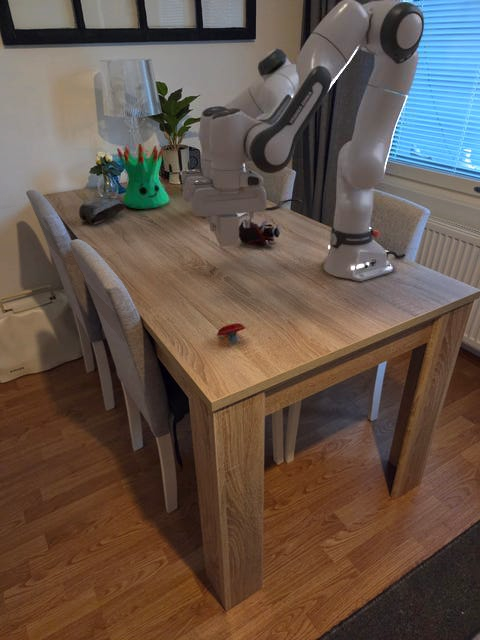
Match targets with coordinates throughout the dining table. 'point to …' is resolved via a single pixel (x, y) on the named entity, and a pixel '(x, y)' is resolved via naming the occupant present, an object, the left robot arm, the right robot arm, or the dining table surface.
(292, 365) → the dining table surface
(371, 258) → the right robot arm
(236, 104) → the left robot arm
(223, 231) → the bar
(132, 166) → the toy
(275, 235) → the toy
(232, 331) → the red mushroom
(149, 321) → the dining table surface
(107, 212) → the rock
